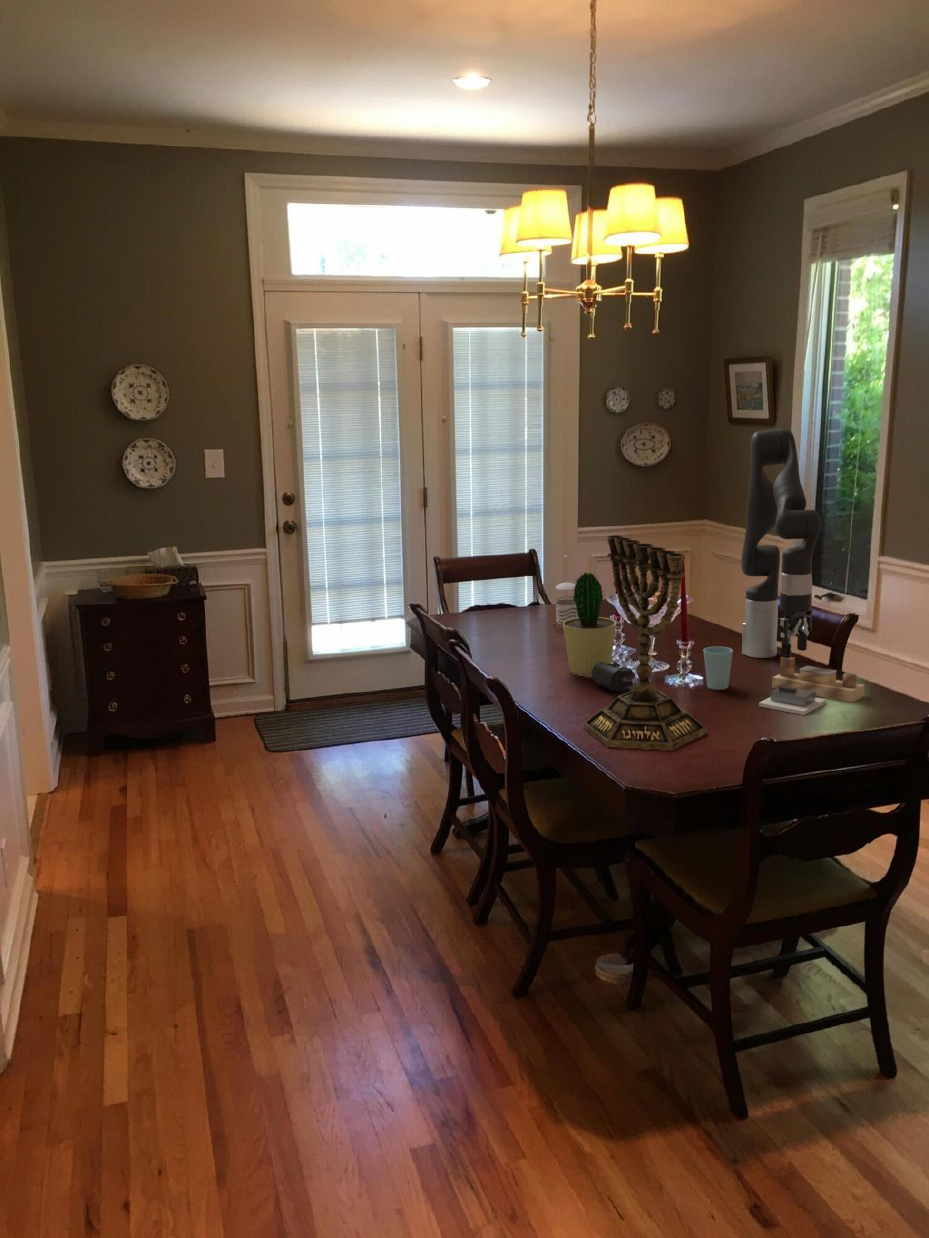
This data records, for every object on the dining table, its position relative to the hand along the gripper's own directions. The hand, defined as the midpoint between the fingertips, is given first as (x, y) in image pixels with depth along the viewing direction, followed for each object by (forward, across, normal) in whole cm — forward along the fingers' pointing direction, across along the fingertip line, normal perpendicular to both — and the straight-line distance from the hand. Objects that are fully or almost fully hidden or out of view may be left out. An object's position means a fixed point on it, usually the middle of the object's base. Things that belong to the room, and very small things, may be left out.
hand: (794, 653), depth 252 cm
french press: (+14, -39, -102) cm, 110 cm away
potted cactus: (+14, +5, -60) cm, 62 cm away
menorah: (+13, +39, -18) cm, 45 cm away
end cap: (+14, +15, -45) cm, 49 cm away
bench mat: (+13, 0, 0) cm, 13 cm away
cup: (+14, -3, -23) cm, 27 cm away
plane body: (+13, -14, 0) cm, 19 cm away
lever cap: (+12, 0, 0) cm, 12 cm away
